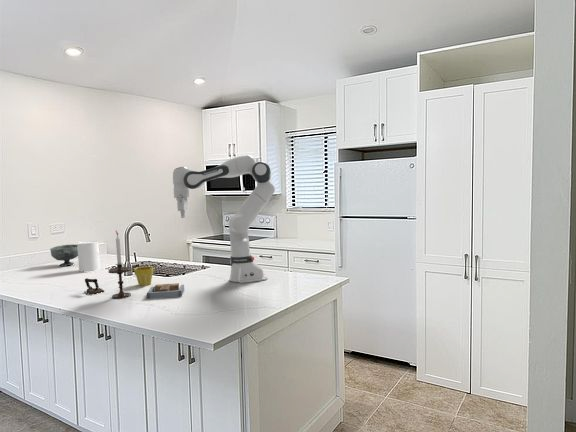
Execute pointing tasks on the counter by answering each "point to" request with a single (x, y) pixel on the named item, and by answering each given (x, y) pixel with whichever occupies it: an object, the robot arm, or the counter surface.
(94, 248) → the canister
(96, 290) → the clothes iron
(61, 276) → the counter surface
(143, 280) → the plant pot
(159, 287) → the t block
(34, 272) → the counter surface
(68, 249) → the bowl
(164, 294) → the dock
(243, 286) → the counter surface
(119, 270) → the candlestick
